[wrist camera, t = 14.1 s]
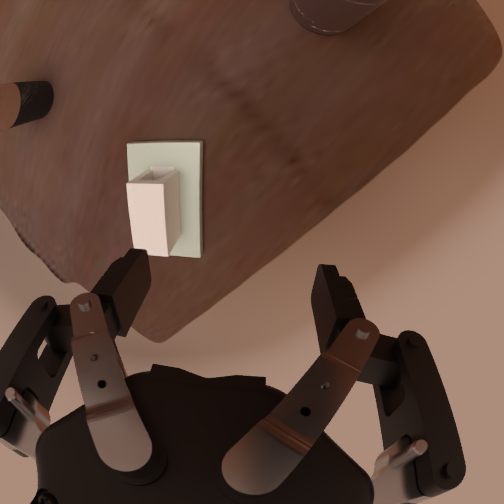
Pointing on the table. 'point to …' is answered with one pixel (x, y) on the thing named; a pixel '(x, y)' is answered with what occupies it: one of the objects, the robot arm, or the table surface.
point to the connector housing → (154, 212)
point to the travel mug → (24, 102)
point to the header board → (190, 183)
